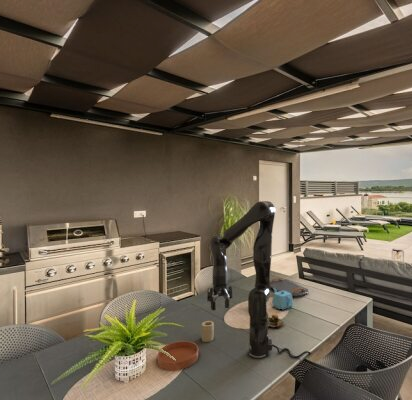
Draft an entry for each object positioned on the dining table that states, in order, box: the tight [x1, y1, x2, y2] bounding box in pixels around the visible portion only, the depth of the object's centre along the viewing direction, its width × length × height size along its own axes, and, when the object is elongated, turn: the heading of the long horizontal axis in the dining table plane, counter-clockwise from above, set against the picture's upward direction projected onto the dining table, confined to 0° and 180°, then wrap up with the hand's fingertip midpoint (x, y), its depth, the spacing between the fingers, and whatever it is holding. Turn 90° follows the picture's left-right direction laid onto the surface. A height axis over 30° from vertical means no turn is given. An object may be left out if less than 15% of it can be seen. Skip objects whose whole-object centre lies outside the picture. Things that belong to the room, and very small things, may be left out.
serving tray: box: [270, 277, 310, 297], centre depth 228 cm, size 39×23×6 cm, turn 34°
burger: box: [268, 311, 284, 329], centre depth 166 cm, size 12×12×8 cm
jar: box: [201, 320, 215, 343], centre depth 148 cm, size 6×6×8 cm
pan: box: [157, 340, 200, 371], centre depth 131 cm, size 18×18×4 cm
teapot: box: [271, 288, 294, 311], centre depth 194 cm, size 12×18×12 cm
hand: (220, 309), depth 137 cm, fingers open, 8 cm apart
